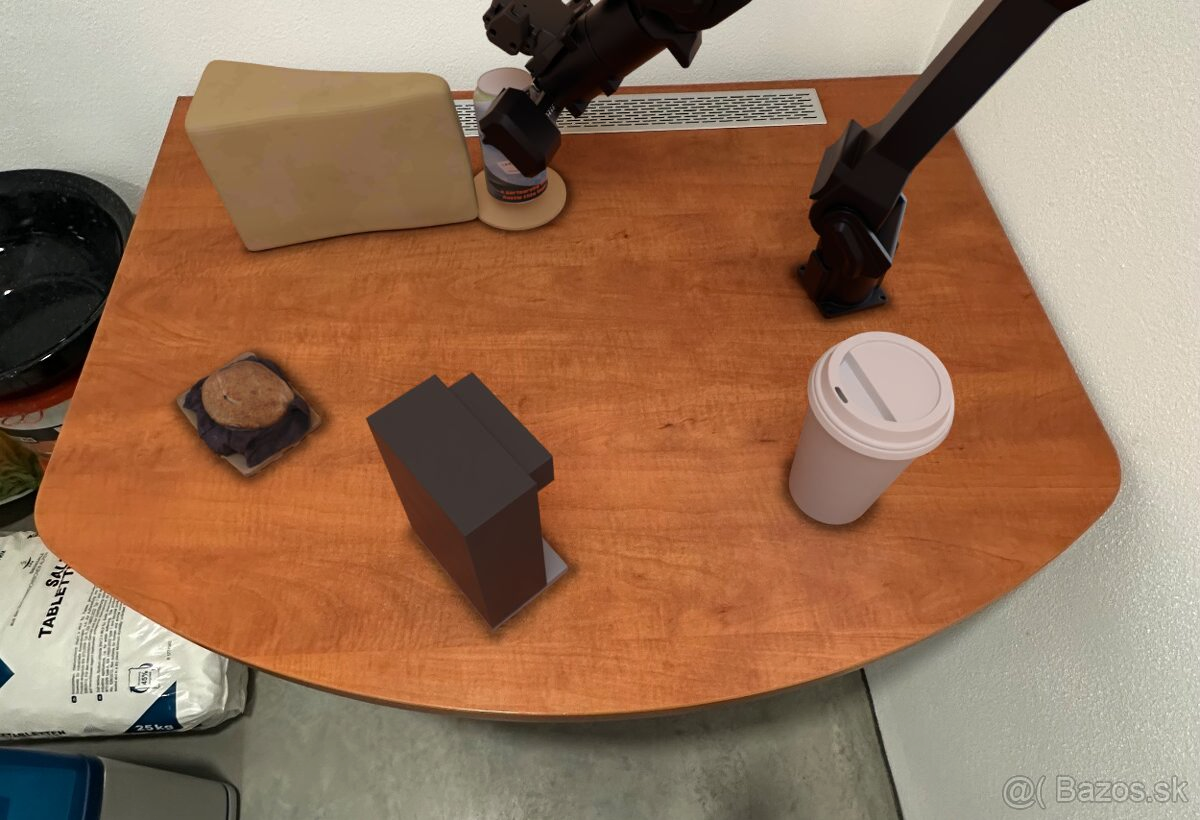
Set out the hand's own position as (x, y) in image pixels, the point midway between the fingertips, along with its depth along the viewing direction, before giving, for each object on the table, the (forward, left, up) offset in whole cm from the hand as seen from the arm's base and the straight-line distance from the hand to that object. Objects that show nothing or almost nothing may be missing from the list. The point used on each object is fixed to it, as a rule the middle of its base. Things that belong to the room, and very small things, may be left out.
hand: (499, 125), depth 75 cm
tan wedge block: (+14, 0, -8) cm, 16 cm away
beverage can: (-1, +1, -7) cm, 7 cm away
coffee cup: (-16, +41, -8) cm, 45 cm away
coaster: (-1, +1, -8) cm, 8 cm away
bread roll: (+27, +20, -8) cm, 35 cm away
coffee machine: (+11, +38, -8) cm, 40 cm away
